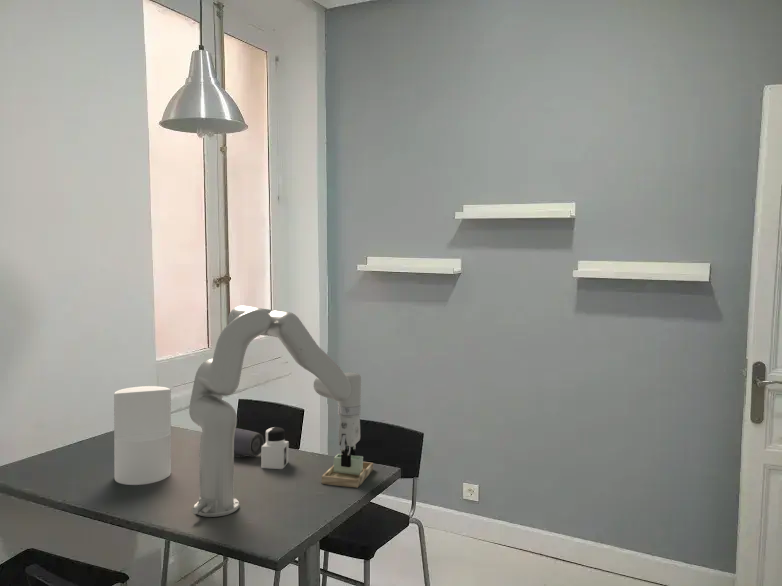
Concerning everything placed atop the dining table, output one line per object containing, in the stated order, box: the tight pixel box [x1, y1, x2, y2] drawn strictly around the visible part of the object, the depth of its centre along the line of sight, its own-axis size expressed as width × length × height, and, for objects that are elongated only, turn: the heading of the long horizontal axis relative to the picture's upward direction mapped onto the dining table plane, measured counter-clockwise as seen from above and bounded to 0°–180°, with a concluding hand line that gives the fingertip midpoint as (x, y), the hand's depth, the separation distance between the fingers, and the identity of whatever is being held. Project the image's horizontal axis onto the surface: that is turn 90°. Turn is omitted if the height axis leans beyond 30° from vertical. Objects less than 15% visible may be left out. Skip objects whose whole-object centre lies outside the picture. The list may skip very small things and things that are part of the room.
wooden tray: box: [321, 461, 374, 489], centre depth 203 cm, size 17×12×2 cm
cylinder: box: [113, 385, 172, 486], centre depth 200 cm, size 17×17×28 cm
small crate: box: [333, 453, 364, 475], centre depth 203 cm, size 4×9×5 cm, turn 76°
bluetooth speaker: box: [200, 427, 265, 458], centre depth 223 cm, size 23×9×10 cm, turn 65°
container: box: [260, 426, 290, 470], centre depth 213 cm, size 8×8×13 cm
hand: (348, 463), depth 203 cm, fingers closed on small crate, 4 cm apart
